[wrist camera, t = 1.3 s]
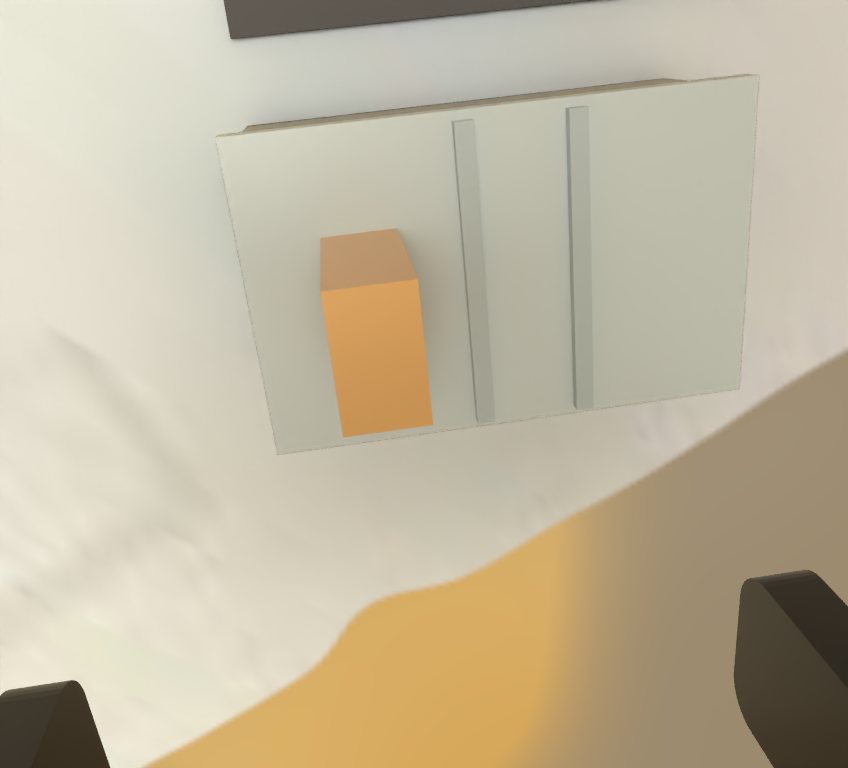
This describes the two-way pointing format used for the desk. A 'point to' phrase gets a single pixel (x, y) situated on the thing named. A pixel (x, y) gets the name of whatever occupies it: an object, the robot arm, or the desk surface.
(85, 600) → the desk surface
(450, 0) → the mat
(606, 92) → the lid
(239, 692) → the desk surface
